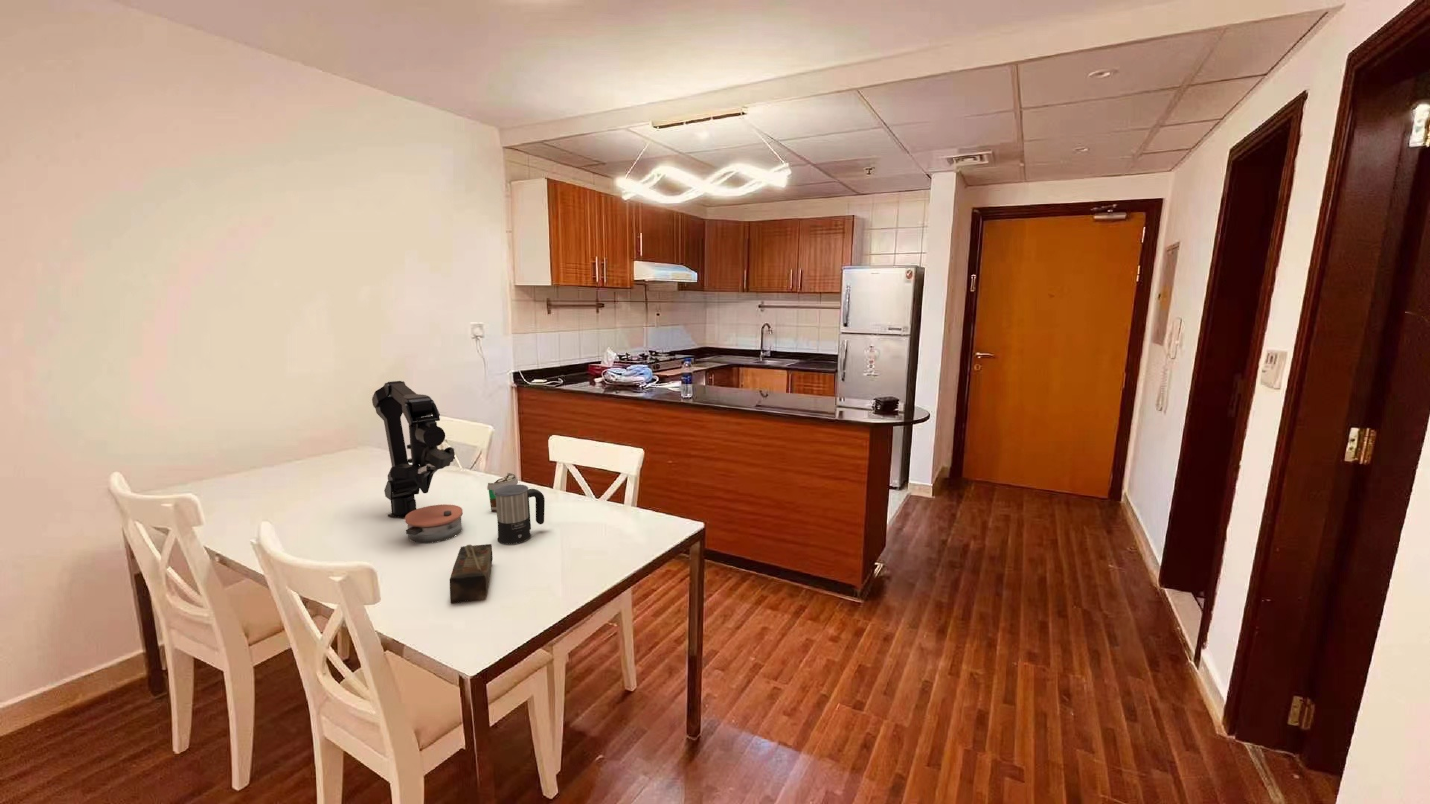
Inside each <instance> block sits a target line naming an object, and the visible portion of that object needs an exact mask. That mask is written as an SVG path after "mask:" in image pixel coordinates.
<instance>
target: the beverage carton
mask: <svg viewBox="0 0 1430 804" xmlns="http://www.w3.org/2000/svg"><path fill="white" fill-rule="evenodd" d="M493 559H494V557H493V545H492V544H491V543H486V544H477V545H476V544H475V545H472V544H466V545H464V546H460V549H459V551H458V553H457V556H456V559H455V561H454V562H455V563H454V565H453V568H452V571H451V575H450V578H449V595H450V597H449V598H450V603H451V604H455V603H457V602H458V603H466V602H475V601H485V600H487V599H486V598H487V596H488V591H489V587H490V586H489V585H490V581H491V580H490V579H491V574H492V565H493Z"/></svg>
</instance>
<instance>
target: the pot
mask: <svg viewBox="0 0 1430 804" xmlns="http://www.w3.org/2000/svg"><path fill="white" fill-rule="evenodd" d="M462 525H463V524H462V516H461V517H460V518H458V519H457V520H455V521H452V522H450V523H446V524H443V525H438V526H431V527H415V526H410V525H408V524H407V529H406V530H405V534H406V535H408V539H409V541H411V542H413V543H417V544H432V542H433V543H438V542H437V541H440V542H445V541H447V540H450V539H453V538H455V537H456V536H455V535H457V536H458V535H460V534H461V533H462V531H463V527H462ZM461 530H462V531H461ZM460 532H461V533H460ZM459 533H460V534H459ZM454 536H455V537H454ZM452 537H453V538H452ZM449 538H450V539H449ZM446 539H447V540H446Z"/></svg>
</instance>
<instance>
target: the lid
mask: <svg viewBox="0 0 1430 804" xmlns="http://www.w3.org/2000/svg"><path fill="white" fill-rule="evenodd" d="M463 513H464V512H463V508H462V507H461V506H459V505H455V504H445V503H444V504H434V505H428V506H423V507H420V508H416V510H414V511H412V512H410V513H408V514H407V515H406V516H405V518H404V522H405V523H406V525H407V526H408V525H410V526H415V527H431V526H438V525H443V524H446V523H450V522H452V521H455V520H457V519H458V518H460V517H461V518H462V516H463Z"/></svg>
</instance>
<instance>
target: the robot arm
mask: <svg viewBox="0 0 1430 804" xmlns="http://www.w3.org/2000/svg"><path fill="white" fill-rule="evenodd" d="M371 398H372V399H371V402H372V406H373V408H374V409H375V413H376V415H378V416H379V418H380V419H381V420H382V421H383V423H384V429H385V436H386V441H387V446H388V447H387V448H388V452H389V457H390V464H391V467H390V470H389V472H388V474H387V482H386V484H385V487H384V491H383V492H384V495H385V498H386V499H388V500H389V501H390V508H391V512H390V513H388V514H387V517H391V518H398V519H399V518H401V519H405V516H406V515H407V514H408V513H410V512H412V511H414V510H416V509H417V500H416V498H415V495H420V491H421V493H422V494H428V493H429V490H430V487H431V483H432V480H433V477H434V474H435V473H436V472H437V471H438V470H442V469H444V468H446V467H450V466H451V463H452V462H454V460H455V459H456V457H455V455H456V454H455V448H453V447H451V446H449V447H445V449H443V448H442V449H439V448H438V446H440V445H441V444H442V443H444V441H445V439H446V433H445V431H444V428H442V427H441V426H438V423H437V422H439V421H440V420H441V418H440V416H441V413H440V412H439V409H438V407H437V405H436V403H435V401H434V400H433V399H432V397H431V396H429V395H427V394H422V393H421V394H420V393H416V392H415V391H414V390H412V389H411V388H410V387H408V385H406V383H405V381H404V380H403V381H402V380H395V381H394V380H393V381H388V382H385V383H384V384H383V386H382V387H380V388H379V389H377V390H375V391H374V394H373V395H372V397H371ZM402 415H404V418H405V420H406V422H407V423H408V432H409V433H408V434H409V444H407V445H406V441H405V437H404V430H403V425H402V419H401V418H402ZM407 450H410V458H408V454H407Z"/></svg>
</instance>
